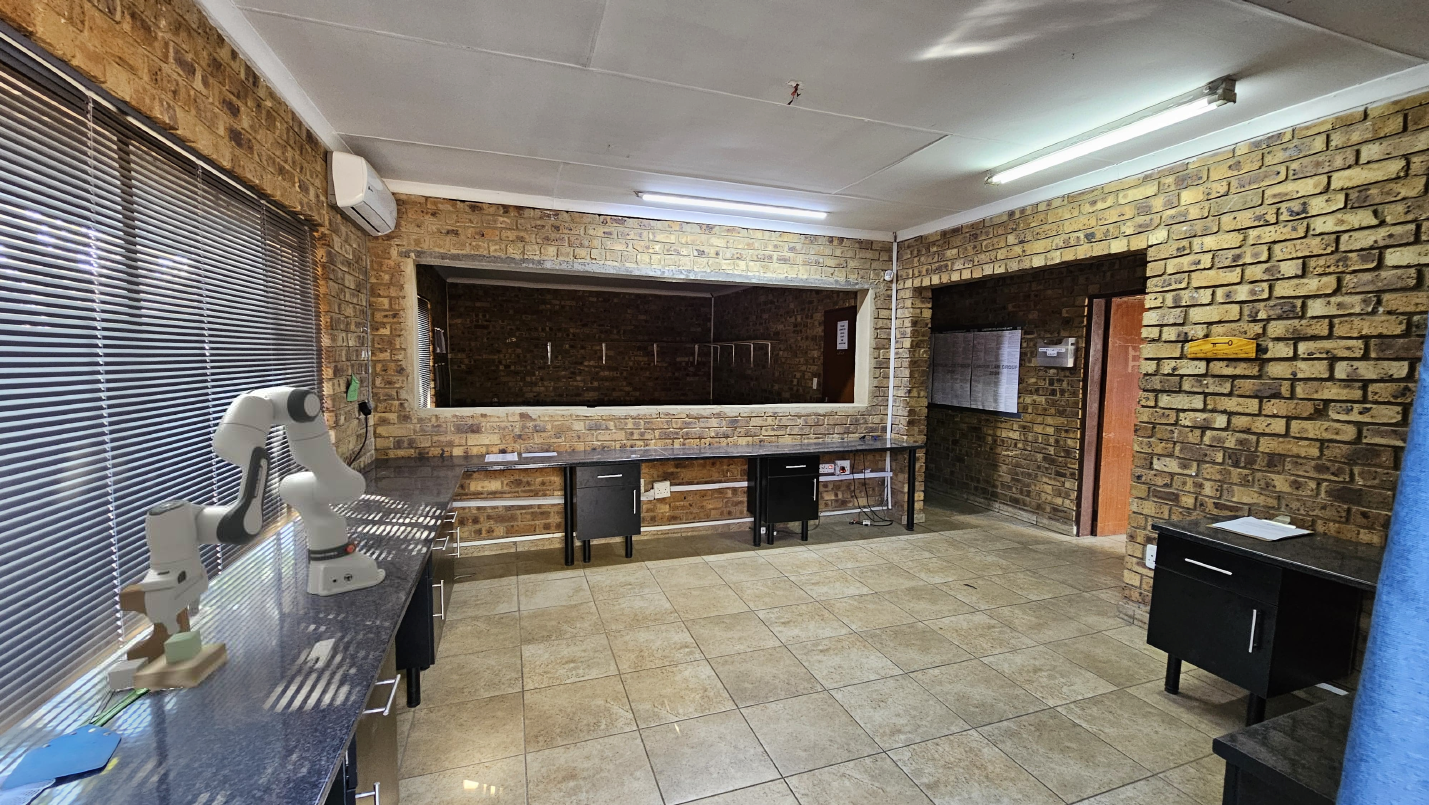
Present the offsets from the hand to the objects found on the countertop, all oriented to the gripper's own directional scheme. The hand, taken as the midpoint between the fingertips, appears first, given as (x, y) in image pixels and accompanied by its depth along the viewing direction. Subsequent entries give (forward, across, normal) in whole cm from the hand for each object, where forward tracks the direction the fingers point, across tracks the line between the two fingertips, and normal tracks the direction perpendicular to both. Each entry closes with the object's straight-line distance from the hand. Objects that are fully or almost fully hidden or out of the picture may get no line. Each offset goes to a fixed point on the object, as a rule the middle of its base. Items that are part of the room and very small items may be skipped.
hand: (184, 623), depth 139 cm
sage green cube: (+8, 0, -1) cm, 8 cm away
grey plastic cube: (+13, 0, -11) cm, 17 cm away
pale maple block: (+13, +1, -1) cm, 13 cm away
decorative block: (+13, -11, -10) cm, 20 cm away
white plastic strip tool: (+13, +4, +27) cm, 30 cm away
